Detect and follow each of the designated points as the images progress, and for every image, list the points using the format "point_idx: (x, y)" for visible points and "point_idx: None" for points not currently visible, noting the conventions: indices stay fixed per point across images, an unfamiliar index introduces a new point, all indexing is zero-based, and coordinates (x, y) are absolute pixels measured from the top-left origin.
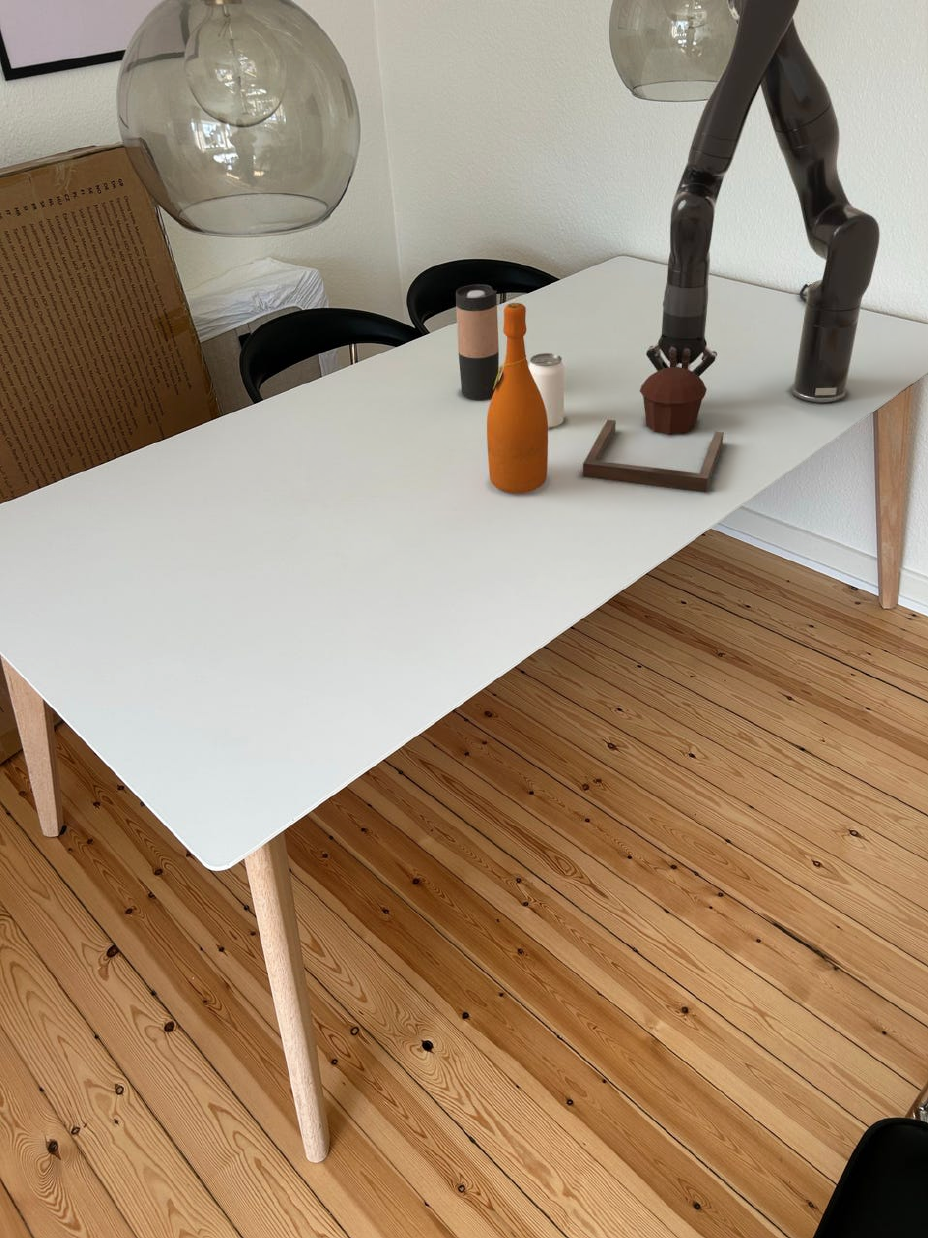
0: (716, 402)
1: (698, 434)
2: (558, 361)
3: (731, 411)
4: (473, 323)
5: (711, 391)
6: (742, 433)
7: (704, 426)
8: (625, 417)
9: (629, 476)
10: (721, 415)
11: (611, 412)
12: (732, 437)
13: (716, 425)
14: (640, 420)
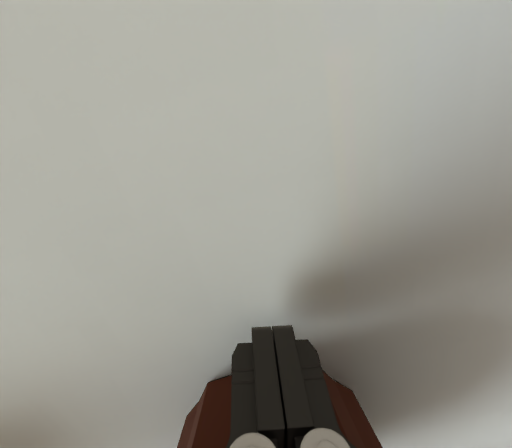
0: (441, 226)
1: None
2: None
3: (496, 290)
4: None
5: (424, 93)
6: (502, 409)
7: (384, 404)
8: (107, 422)
9: None
10: (450, 328)
11: (37, 408)
12: (466, 432)
13: (424, 390)
14: (166, 425)
